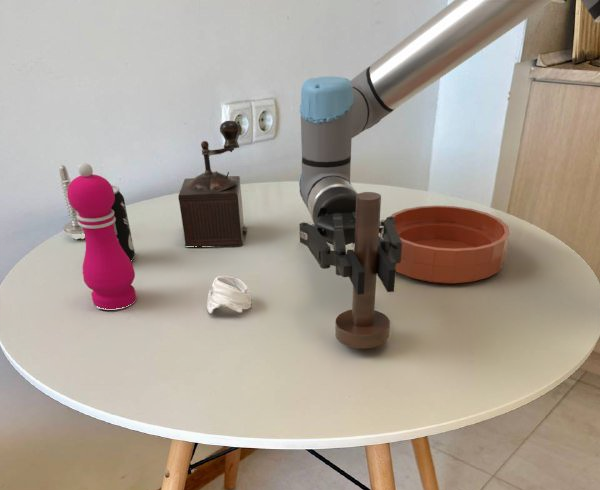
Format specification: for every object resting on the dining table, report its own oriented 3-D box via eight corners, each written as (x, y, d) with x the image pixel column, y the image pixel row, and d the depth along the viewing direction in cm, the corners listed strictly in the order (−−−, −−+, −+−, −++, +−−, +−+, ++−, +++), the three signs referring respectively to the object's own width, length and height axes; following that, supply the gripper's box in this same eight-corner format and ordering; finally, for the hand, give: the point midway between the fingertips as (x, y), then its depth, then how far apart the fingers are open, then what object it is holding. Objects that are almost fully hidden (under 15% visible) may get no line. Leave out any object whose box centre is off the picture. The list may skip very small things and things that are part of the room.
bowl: (528, 272, 95) (536, 236, 91) (425, 297, 88) (430, 259, 85) (453, 231, 109) (458, 199, 105) (360, 251, 102) (362, 216, 99)
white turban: (206, 301, 90) (200, 271, 88) (250, 293, 91) (244, 263, 88) (209, 323, 84) (202, 291, 81) (256, 314, 84) (250, 282, 82)
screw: (73, 244, 107) (61, 237, 110) (97, 237, 110) (85, 230, 112) (54, 170, 99) (42, 164, 102) (81, 164, 102) (68, 159, 105)
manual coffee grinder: (246, 246, 105) (238, 138, 94) (184, 248, 105) (169, 140, 94) (248, 216, 117) (241, 117, 106) (192, 217, 117) (180, 119, 106)
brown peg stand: (399, 340, 76) (412, 199, 65) (351, 353, 73) (356, 210, 63) (371, 317, 81) (379, 182, 70) (325, 328, 78) (326, 191, 68)
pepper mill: (80, 308, 87) (42, 168, 75) (109, 287, 93) (79, 154, 81) (121, 316, 85) (89, 173, 73) (149, 295, 90) (123, 158, 78)
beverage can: (123, 250, 104) (109, 181, 97) (143, 261, 101) (129, 189, 93) (89, 261, 101) (71, 190, 94) (107, 272, 97) (91, 199, 90)
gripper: (389, 233, 88) (440, 306, 70) (283, 241, 87) (307, 317, 68) (392, 182, 84) (448, 245, 65) (281, 189, 82) (306, 256, 64)
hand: (376, 282), depth 67 cm, fingers closed on brown peg stand, 3 cm apart
